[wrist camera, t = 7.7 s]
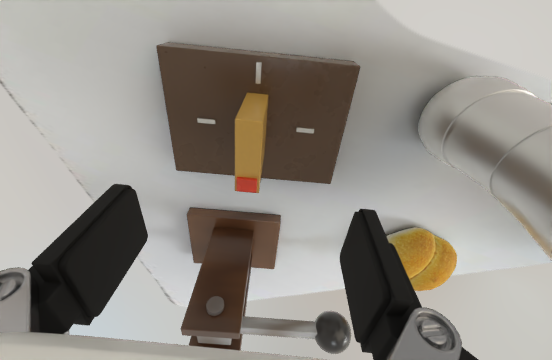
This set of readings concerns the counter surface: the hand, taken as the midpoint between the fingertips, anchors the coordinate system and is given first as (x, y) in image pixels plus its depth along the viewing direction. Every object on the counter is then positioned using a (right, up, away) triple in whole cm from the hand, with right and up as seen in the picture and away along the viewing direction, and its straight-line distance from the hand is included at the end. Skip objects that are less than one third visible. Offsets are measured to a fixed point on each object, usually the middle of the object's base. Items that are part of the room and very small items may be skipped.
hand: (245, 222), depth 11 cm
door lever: (+1, -10, +12) cm, 16 cm away
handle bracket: (-3, -5, +19) cm, 20 cm away
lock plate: (0, +7, +11) cm, 13 cm away
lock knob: (0, +6, +9) cm, 11 cm away
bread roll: (+17, -7, +20) cm, 27 cm away
